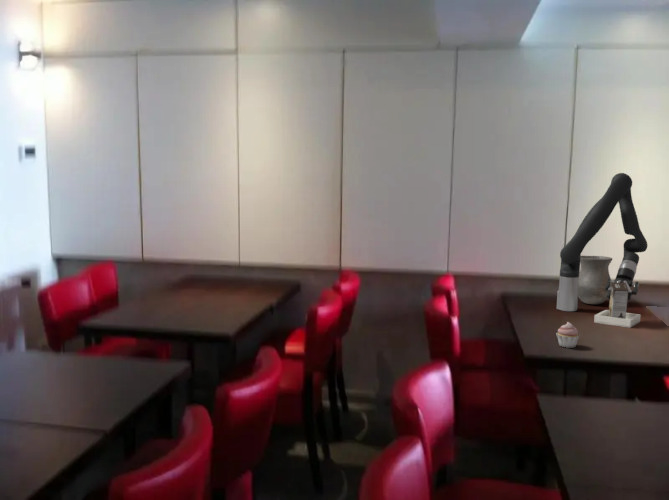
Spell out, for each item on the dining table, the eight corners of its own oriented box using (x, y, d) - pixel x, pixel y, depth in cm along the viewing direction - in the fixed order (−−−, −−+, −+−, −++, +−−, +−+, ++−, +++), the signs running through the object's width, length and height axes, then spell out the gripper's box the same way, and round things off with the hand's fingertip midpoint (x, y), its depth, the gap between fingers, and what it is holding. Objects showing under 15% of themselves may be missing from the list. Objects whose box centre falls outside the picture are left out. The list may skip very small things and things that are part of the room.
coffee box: (608, 312, 316) (610, 281, 310) (622, 313, 314) (625, 282, 309) (611, 321, 307) (613, 289, 302) (625, 322, 306) (629, 289, 301)
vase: (565, 301, 360) (567, 255, 357) (591, 298, 368) (593, 254, 365) (593, 308, 342) (595, 260, 339) (620, 305, 350) (623, 258, 347)
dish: (594, 322, 310) (594, 315, 310) (605, 316, 323) (605, 309, 322) (630, 327, 300) (630, 320, 300) (640, 321, 312) (640, 314, 312)
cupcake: (560, 341, 275) (561, 318, 274) (582, 345, 269) (584, 321, 268) (551, 346, 268) (552, 322, 266) (574, 350, 262) (575, 325, 261)
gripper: (609, 265, 319) (600, 292, 311) (641, 268, 310) (632, 296, 302) (612, 275, 323) (603, 301, 316) (643, 278, 314) (635, 306, 307)
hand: (617, 299), depth 309 cm, fingers closed on coffee box, 8 cm apart
